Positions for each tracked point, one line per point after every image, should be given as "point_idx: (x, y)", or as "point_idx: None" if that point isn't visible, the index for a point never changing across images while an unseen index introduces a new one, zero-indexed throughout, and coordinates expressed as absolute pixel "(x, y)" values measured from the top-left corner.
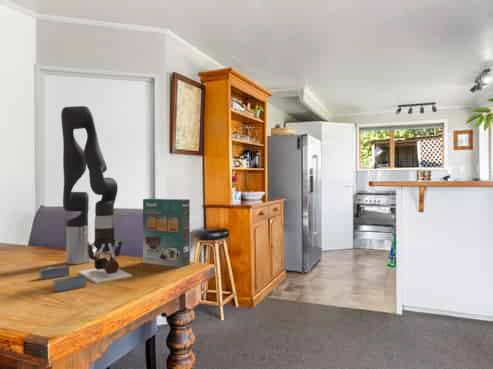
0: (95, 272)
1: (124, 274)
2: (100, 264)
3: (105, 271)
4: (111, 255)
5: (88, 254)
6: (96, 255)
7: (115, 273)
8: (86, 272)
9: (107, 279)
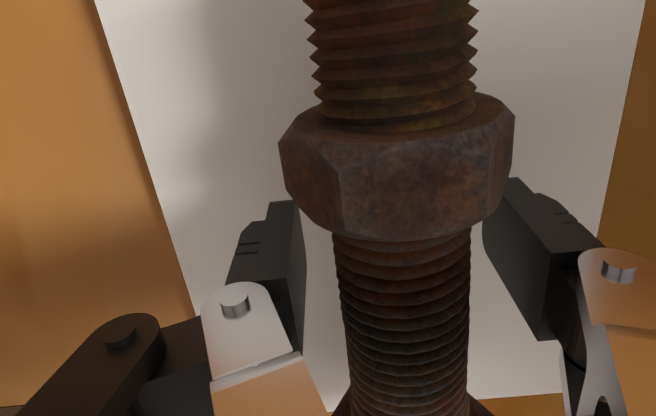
0: (286, 93)
1: (522, 353)
2: (334, 250)
3: None
4: (564, 394)
5: (24, 407)
6: (247, 367)
7: (472, 277)
8: (165, 8)
9: (331, 409)
